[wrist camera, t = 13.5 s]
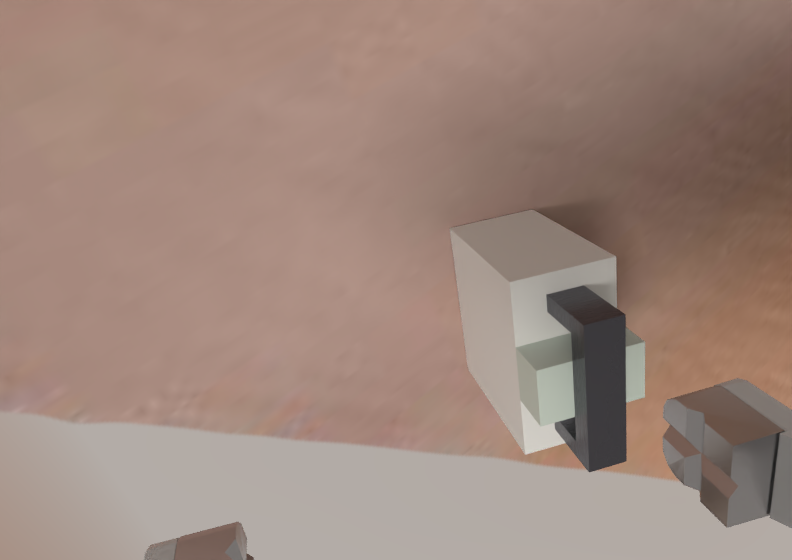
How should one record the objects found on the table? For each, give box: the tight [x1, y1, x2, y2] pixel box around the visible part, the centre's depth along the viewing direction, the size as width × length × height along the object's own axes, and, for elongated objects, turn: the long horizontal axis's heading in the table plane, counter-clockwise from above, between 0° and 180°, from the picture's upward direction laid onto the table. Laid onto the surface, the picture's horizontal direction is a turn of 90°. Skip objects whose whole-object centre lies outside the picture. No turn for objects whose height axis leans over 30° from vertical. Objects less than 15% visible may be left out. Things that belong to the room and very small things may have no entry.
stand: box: [450, 209, 645, 455], centre depth 42 cm, size 13×7×15 cm, turn 9°
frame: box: [546, 285, 626, 472], centre depth 36 cm, size 10×2×4 cm, turn 9°
